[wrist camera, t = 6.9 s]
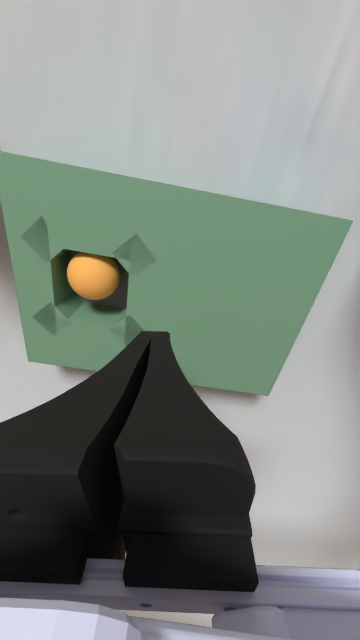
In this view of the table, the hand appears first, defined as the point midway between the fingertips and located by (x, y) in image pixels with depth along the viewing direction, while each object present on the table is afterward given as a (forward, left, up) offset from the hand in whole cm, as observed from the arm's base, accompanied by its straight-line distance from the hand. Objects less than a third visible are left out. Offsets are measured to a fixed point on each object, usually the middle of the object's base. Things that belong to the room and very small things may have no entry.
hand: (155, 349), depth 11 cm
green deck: (0, 0, -9) cm, 9 cm away
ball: (+5, -1, -7) cm, 9 cm away
